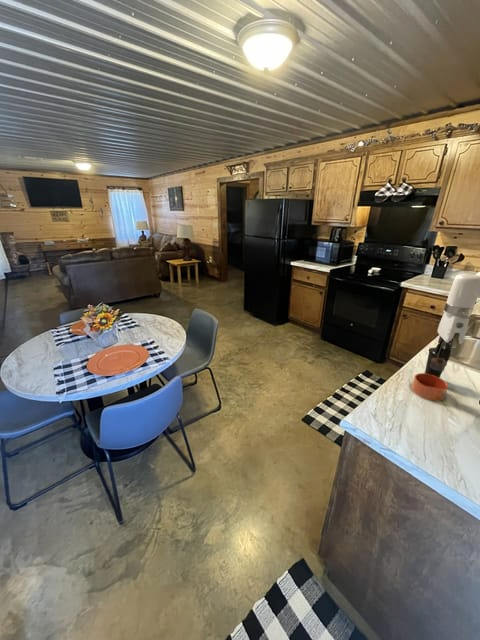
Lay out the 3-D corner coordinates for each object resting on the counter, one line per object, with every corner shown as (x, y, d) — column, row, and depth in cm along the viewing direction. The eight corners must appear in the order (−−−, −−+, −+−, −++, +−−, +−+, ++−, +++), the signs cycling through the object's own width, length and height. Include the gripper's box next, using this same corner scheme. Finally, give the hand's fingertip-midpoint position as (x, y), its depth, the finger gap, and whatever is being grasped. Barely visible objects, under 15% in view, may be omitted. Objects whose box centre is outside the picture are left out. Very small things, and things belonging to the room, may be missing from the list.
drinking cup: (439, 377, 115) (453, 336, 107) (443, 387, 108) (459, 344, 101) (418, 372, 118) (431, 332, 110) (421, 382, 111) (435, 340, 103)
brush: (441, 365, 102) (451, 340, 97) (446, 372, 97) (456, 346, 93) (427, 363, 103) (436, 338, 99) (431, 370, 99) (440, 344, 94)
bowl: (438, 386, 109) (442, 376, 107) (448, 403, 99) (453, 392, 97) (408, 381, 112) (411, 371, 110) (415, 397, 102) (419, 386, 100)
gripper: (482, 319, 83) (462, 369, 90) (460, 303, 97) (444, 347, 104) (454, 316, 85) (437, 365, 92) (437, 301, 99) (423, 344, 106)
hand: (441, 355), depth 98 cm, fingers closed on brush
